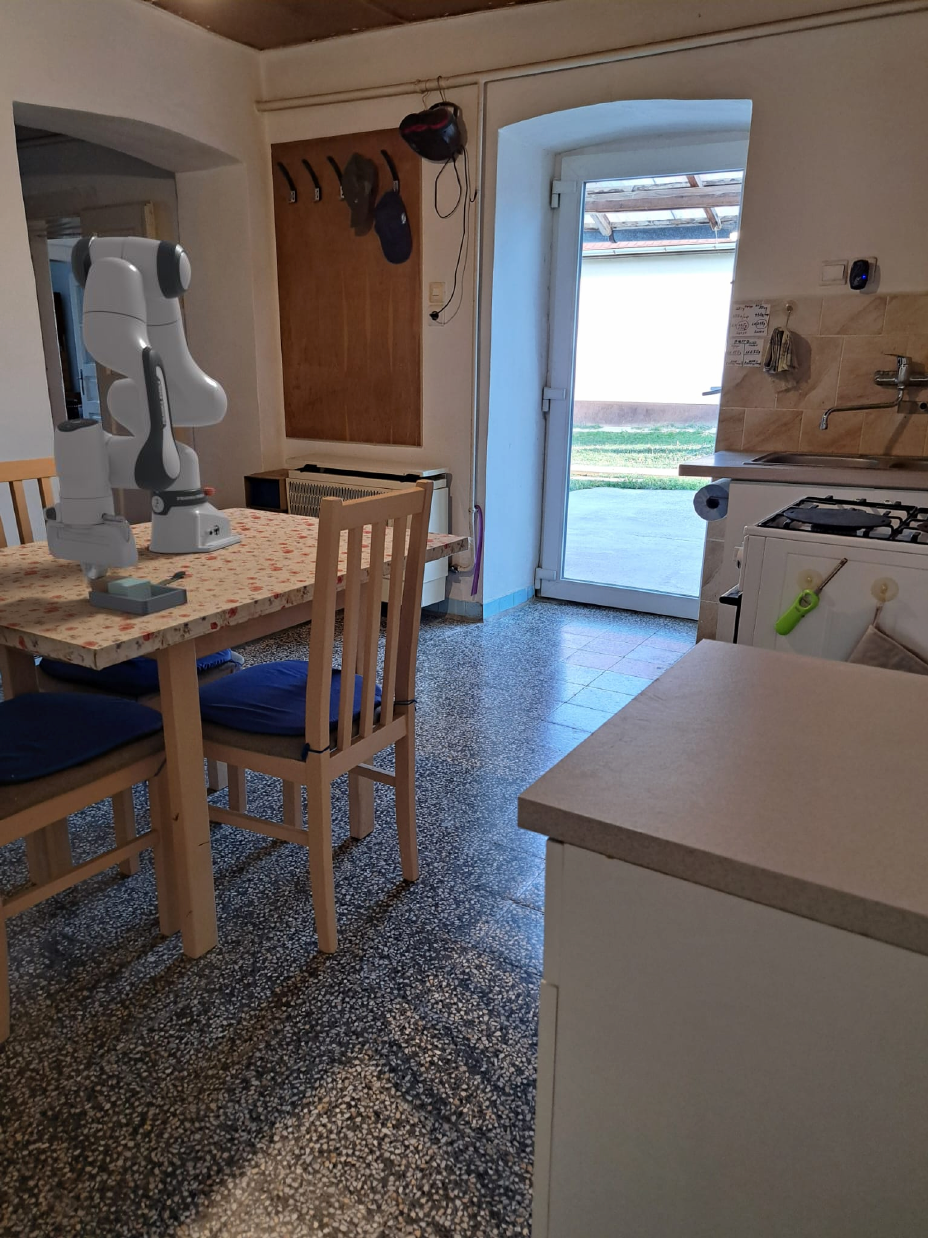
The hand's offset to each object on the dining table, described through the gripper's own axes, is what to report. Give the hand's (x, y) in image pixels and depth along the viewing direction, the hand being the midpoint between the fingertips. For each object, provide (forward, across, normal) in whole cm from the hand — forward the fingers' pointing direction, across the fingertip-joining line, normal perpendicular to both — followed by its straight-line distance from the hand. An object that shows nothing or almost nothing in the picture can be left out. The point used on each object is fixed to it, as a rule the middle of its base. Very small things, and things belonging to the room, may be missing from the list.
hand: (96, 586), depth 156 cm
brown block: (+2, -4, 0) cm, 4 cm away
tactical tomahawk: (+3, -5, -11) cm, 12 cm away
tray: (+2, -10, 0) cm, 11 cm away
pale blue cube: (+2, -9, 0) cm, 9 cm away
